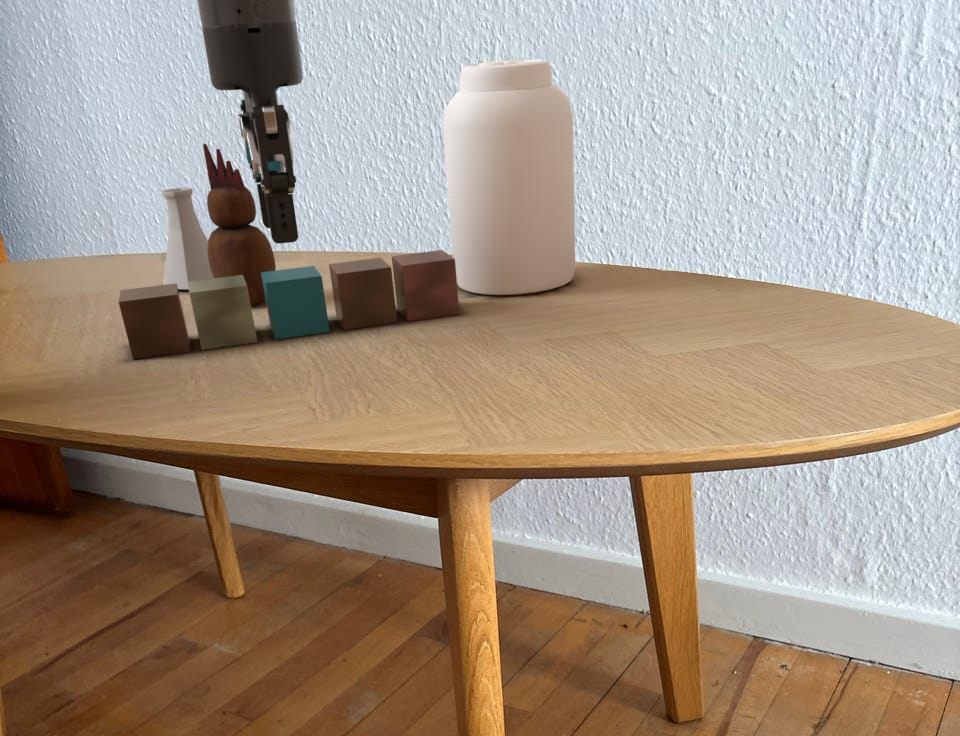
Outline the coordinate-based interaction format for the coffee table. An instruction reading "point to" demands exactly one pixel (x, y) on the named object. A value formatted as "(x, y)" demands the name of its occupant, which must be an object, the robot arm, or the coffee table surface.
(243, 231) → the wooden figurine
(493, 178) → the white jar
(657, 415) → the coffee table surface
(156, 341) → the block row
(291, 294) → the teal block
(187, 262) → the flask
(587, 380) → the coffee table surface
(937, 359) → the coffee table surface
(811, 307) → the coffee table surface
